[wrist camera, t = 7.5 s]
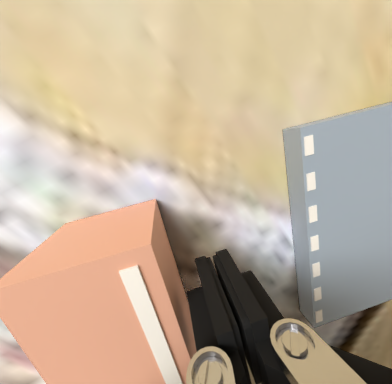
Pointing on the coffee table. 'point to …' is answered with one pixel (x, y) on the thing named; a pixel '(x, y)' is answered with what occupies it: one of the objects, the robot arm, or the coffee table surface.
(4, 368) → the coffee table surface
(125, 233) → the peach rectangular block
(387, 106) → the board
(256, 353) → the robot arm
